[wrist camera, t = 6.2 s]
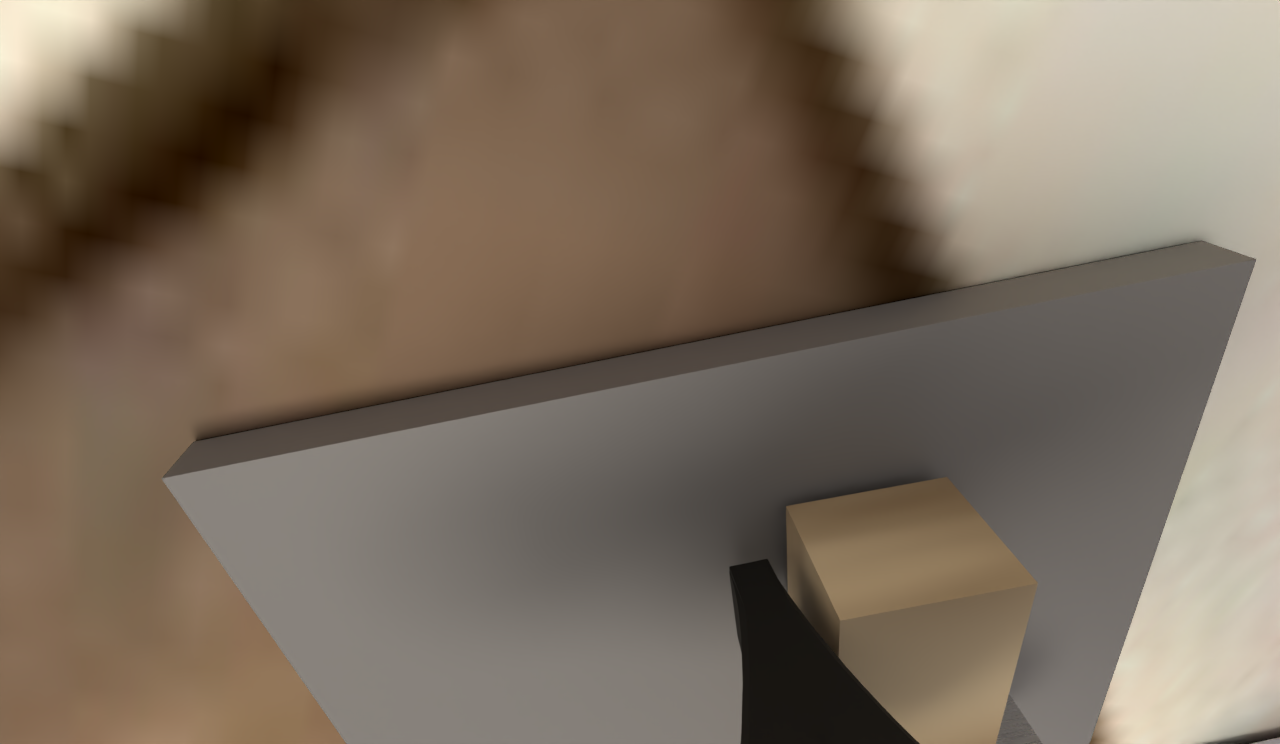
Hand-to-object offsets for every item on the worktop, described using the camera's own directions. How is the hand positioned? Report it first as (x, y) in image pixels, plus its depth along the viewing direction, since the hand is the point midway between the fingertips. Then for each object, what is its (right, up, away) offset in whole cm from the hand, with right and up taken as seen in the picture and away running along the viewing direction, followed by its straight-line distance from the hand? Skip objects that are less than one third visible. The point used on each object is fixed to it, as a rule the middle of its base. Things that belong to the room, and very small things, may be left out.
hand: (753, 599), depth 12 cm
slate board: (0, -3, +4) cm, 5 cm away
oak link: (+3, -4, +3) cm, 6 cm away
